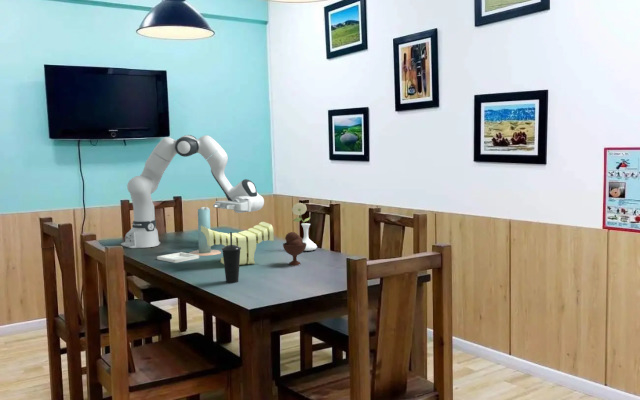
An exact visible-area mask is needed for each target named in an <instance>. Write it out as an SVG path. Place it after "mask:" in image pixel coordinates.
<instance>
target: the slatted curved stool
mask: <svg viewBox="0 0 640 400" xmlns="http://www.w3.org/2000/svg"><path fill="white" fill-rule="evenodd" d="M201 232H203V233H204V234H205V236H206V239H207V245H208V246H211V247H212V246H214V245H217V246H218V245H222V246H224V247H225V246H227V245H230V232H229V233H228V232H221V231H216V230H212V229H211V228H210V229H208V228H205V227H203V226H201ZM274 232H275V231H274V227H273V225H272V224H271V223H268V222H265V221H261V222H259V223H258V224H256V225H254V226H252V227H250V228H247V230H246V229H245V230H242V231H238V232H232V245H236V246H238V247H241V249H240V263H239V266H245V265H255V263H256V262H255V253H256V249H257V245H259V244H260V243H262V242H263V241H264V242H266V241H270V242H274V239H275V236H274V235H275V234H274ZM219 263H221V264H223V265H224V259H223V256H222V257H221V258H220V260H219Z"/></svg>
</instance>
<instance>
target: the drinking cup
mask: <svg viewBox="0 0 640 400" xmlns="http://www.w3.org/2000/svg"><path fill="white" fill-rule="evenodd" d="M229 233H230V245H227V246H225V245H224V247H223V246H222V248H221V252H222V257H223V259H224V264H223V265H224V275H225V282H226V283H228V284H234V283H238V282H239V278H240V276H239V275H240V265H239V263H240V249H241V247H238V246H236V245H232V233H233V232H232V231H230V232H229Z"/></svg>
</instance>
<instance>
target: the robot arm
mask: <svg viewBox="0 0 640 400" xmlns="http://www.w3.org/2000/svg"><path fill="white" fill-rule="evenodd" d="M197 153H198V154H199V155H201V156H202V157H203V159H205V160H206V162H207V164H208V165H209V167H210V173H211V175H212V176H213V178H214V179H215V181H216V182H217V184H218V186H219V187H220V189H221V190H222V191H223V193H224V195H225V196H226V200H216V201H215V202H214V203H212V204H213V205H212V207H213V208H215V209H223V210H224V209H225V210H231V211H233V212H235V213H236V214H239V213H251V212H257V211H259V210H261V209H262V208H263V207H264V205H265V199H264V197H263V196H262V195H260V194H259V193H258V191H257V186H256V185H255V183H254V182H253V181H251V180H249V179H246V178H245V179H243V180H241V181H240V182H238V184H236V185H234V186H233V185H232V183H230V181H229V179H228V178H227V177H226V175H225V170H226V167H227V164H228V162H229V161H228V160H229V158H228V157H229V155H228V154H227V152H226V151H225V149H224V148H223V147H222V146H221V145H220V143H218V141H216V140H215V139H214V138H213V137H212V136H210V135H207V134H205V135H202V136H200V137H198V138H196V137H195V136H194V135H191V134H186V135H182V136H180V137H179V138H178V139H174V138H172V137H169V136H165V137H163V138H162V139H160V141H158V143H157V144H156V146H155V147H154V148H153V150H152V151H151V153H150V154H149V156H148V157H147V159H146V161H145V163H144V168H143V170H142V172H141V174H140V175H137V176H134V177H132V178H130V180H128V182H127V184H126V186H127V191H128V193H129V195H130V199H131V202H132V207H133V221H132V222H131V225H132V226H131V229H130V230H129V231H128V232H126V233H125V237H124V239H125V241H124V242H121V243H120V245H121V246H123V247H126V248H129V249H140V248H142V249H144V248H151V247H152V248H153V247H157V246H159V245H160V244H161V241H159V239H160V238H159V233H158V229H157V228H156V227H157V222H156V221H157V220H156V217H155V216H156V215H155V204H154V203H153V200H152V199H153V198H152V195H151V194H153V193H154V192H155V191H156V190H157V189H158V187H159V184H160V182H161V179H162V178H163V175H164V174H165V171H166V170H167V168H168V167H169V165H170V164H171V162H172V161H173V159H174V157H175V156H176V155H179V156H180V157H191V156H192V155H195V154H197Z"/></svg>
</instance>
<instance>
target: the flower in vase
mask: <svg viewBox="0 0 640 400" xmlns="http://www.w3.org/2000/svg"><path fill="white" fill-rule="evenodd" d="M307 210H308V209H307V205H306V203H303V202H302V203H301V202H297V203H295V204H294V205H293V206H292V208H291V211H292V214H293V215H296V216H300V217H296V218H294V219H293V222H297V223H299V222H300V221H302V223H301V224H300V225H301V226H302V228H303V237H302V239H303V243H306V248H305V250H304V251H303V252H308V251H310V252H311V251H314V250H316V249H317V248H318V246H317V244H316V243H314V241H312V240H311V239H310V238H309V228H310V226H311V223H307V222H308V221H309V220H310V219H311V216H309V217H308V218H305V219H304V220H303V218H302V215H304V214H305V213H306V212H307ZM305 222H306V223H305Z"/></svg>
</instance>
